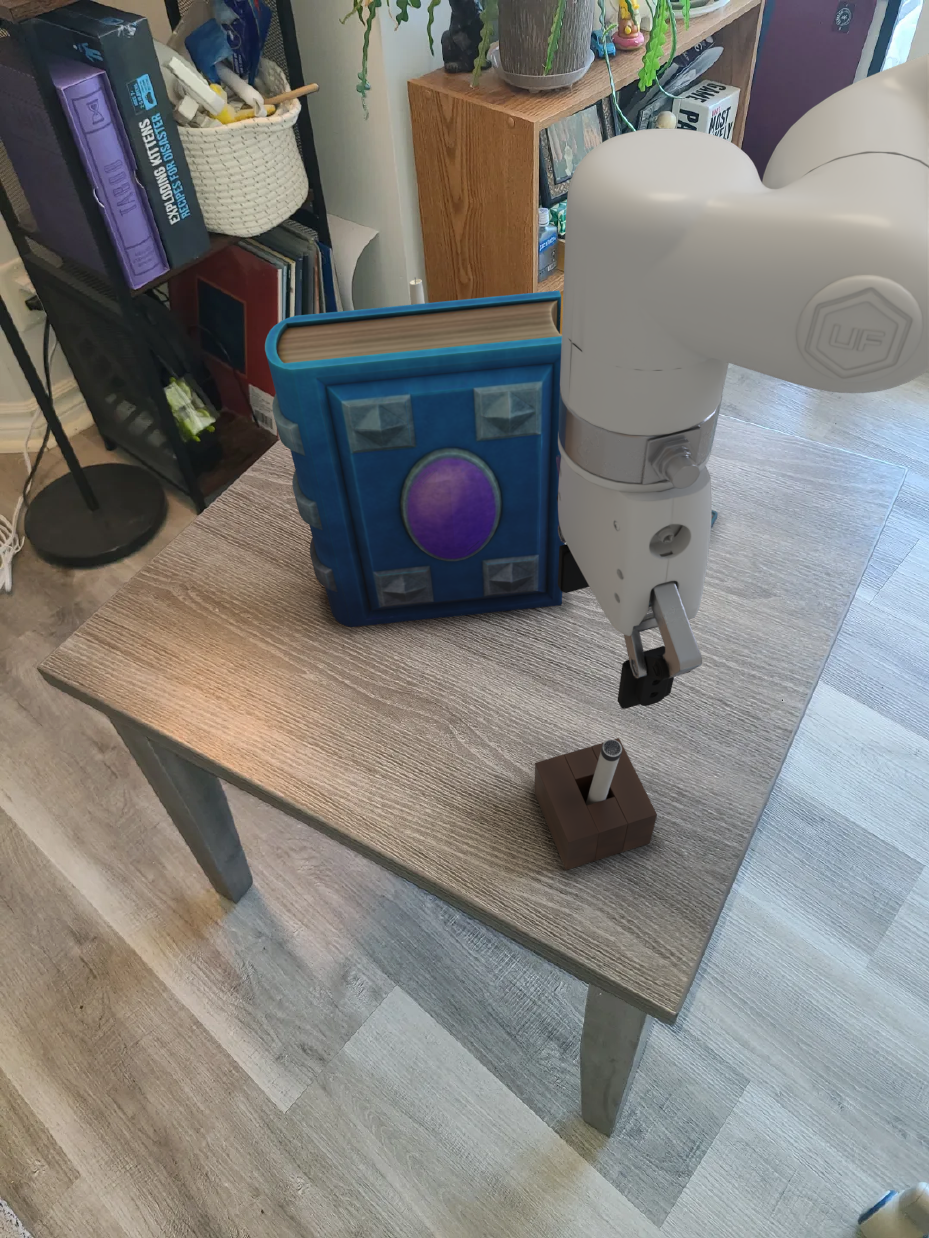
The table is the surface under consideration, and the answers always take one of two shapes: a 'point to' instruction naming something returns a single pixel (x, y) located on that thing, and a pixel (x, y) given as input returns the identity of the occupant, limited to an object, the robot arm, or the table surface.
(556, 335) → the book
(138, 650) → the table surface
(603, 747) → the stylus
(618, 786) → the pen stand
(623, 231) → the robot arm
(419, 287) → the candle
